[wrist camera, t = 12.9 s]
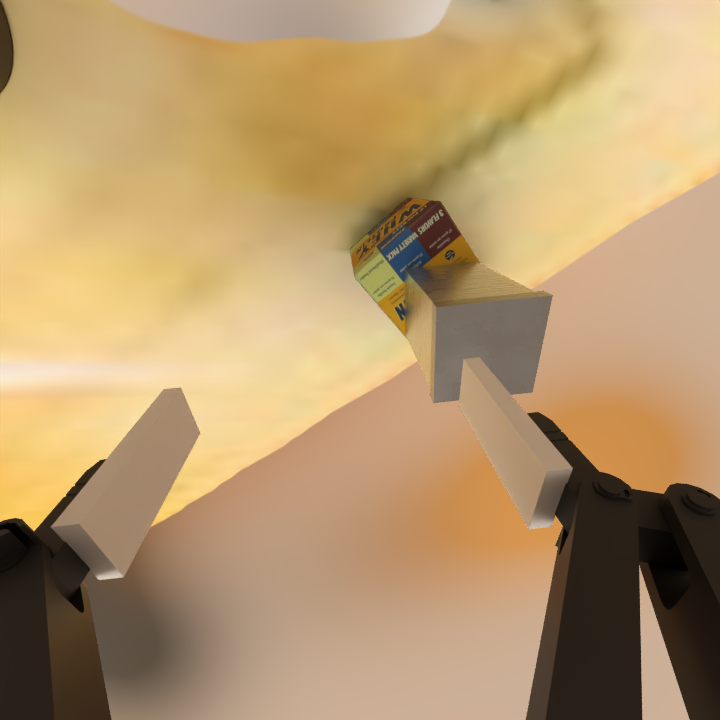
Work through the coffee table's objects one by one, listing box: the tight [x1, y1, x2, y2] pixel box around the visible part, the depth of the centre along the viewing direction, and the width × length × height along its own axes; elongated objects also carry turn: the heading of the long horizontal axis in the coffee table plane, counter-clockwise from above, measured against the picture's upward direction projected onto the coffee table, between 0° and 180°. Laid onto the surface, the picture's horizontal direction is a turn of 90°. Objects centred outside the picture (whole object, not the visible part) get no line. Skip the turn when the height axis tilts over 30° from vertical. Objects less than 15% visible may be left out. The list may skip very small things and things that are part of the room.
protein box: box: [350, 198, 480, 338], centre depth 39 cm, size 10×15×16 cm
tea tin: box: [404, 262, 552, 403], centre depth 27 cm, size 7×7×12 cm
